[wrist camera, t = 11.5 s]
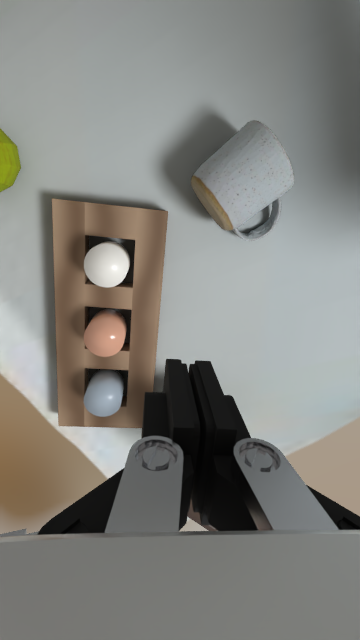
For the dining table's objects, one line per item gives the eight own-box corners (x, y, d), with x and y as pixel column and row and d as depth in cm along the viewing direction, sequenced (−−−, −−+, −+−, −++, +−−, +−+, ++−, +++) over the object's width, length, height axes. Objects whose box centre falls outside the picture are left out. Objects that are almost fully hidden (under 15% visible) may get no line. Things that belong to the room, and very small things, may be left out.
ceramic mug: (181, 182, 34) (190, 174, 27) (240, 129, 33) (265, 107, 26) (236, 254, 37) (256, 265, 30) (290, 210, 36) (325, 209, 29)
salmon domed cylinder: (127, 310, 37) (125, 321, 33) (126, 343, 38) (123, 357, 34) (90, 307, 36) (83, 318, 33) (90, 341, 38) (83, 355, 34)
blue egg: (124, 369, 39) (122, 385, 36) (123, 398, 41) (120, 417, 37) (90, 367, 39) (83, 384, 35) (90, 397, 40) (83, 416, 36)
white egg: (131, 243, 34) (128, 246, 31) (129, 281, 36) (126, 289, 32) (91, 239, 34) (83, 242, 30) (91, 278, 35) (83, 285, 31)
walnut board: (167, 211, 35) (168, 211, 33) (150, 417, 44) (149, 428, 41) (58, 199, 34) (51, 198, 31) (63, 414, 42) (58, 425, 40)
